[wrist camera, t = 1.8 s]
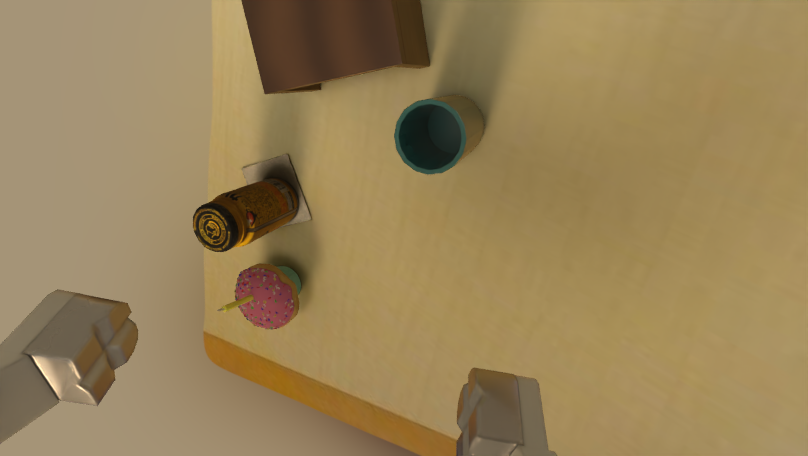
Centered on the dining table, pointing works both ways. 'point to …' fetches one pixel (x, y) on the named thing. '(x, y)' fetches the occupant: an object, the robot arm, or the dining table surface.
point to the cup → (438, 133)
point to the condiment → (252, 207)
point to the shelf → (332, 40)
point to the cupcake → (267, 295)
